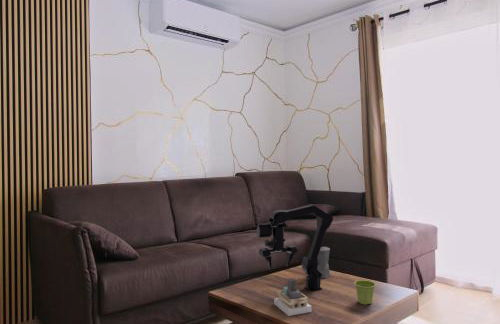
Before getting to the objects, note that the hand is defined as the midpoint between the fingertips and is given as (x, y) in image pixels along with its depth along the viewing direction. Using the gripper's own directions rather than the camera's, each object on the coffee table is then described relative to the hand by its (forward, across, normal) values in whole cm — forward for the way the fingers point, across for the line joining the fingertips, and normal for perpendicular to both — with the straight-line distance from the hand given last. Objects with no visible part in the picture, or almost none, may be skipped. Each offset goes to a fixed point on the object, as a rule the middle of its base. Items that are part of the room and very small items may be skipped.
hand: (278, 268), depth 199 cm
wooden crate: (+10, +3, +20) cm, 23 cm away
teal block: (+7, +3, +17) cm, 19 cm away
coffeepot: (+12, -32, -14) cm, 37 cm away
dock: (+12, +3, +20) cm, 24 cm away
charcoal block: (+7, +3, +24) cm, 25 cm away
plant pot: (+12, -30, +28) cm, 43 cm away
